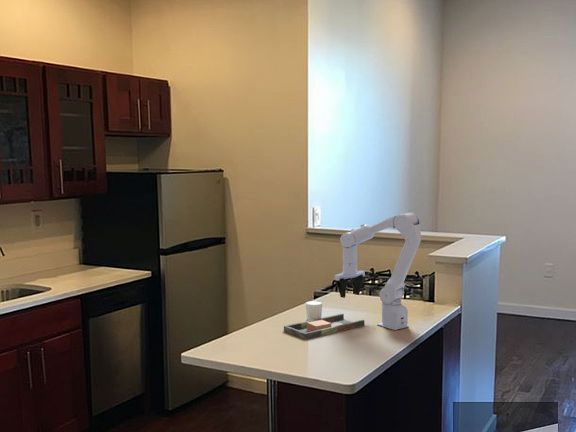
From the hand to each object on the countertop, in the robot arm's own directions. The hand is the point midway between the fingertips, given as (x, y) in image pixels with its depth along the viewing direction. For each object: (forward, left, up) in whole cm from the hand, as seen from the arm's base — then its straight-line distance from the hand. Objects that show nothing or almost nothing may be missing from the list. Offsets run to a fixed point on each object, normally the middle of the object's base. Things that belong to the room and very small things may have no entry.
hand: (349, 295), depth 243 cm
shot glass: (+8, +12, -10) cm, 17 cm away
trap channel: (-4, +16, -9) cm, 19 cm away
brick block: (-4, +20, -10) cm, 22 cm away
